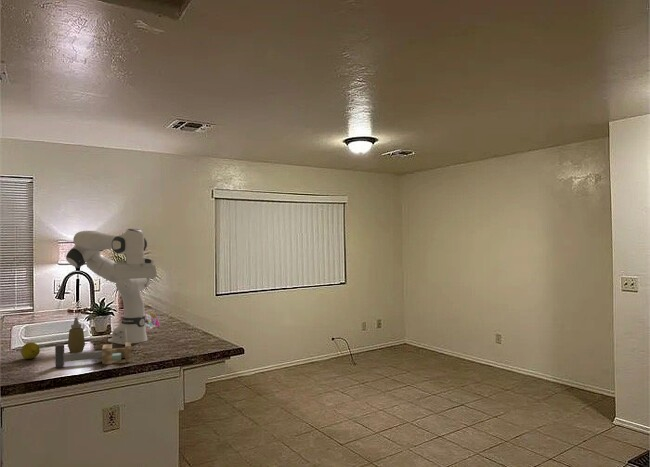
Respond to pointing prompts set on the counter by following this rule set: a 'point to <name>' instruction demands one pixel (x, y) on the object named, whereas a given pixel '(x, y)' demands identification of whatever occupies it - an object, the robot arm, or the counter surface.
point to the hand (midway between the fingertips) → (136, 287)
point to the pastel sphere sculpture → (151, 321)
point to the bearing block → (108, 352)
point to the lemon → (30, 350)
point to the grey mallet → (73, 355)
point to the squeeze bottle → (76, 338)
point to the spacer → (116, 356)
